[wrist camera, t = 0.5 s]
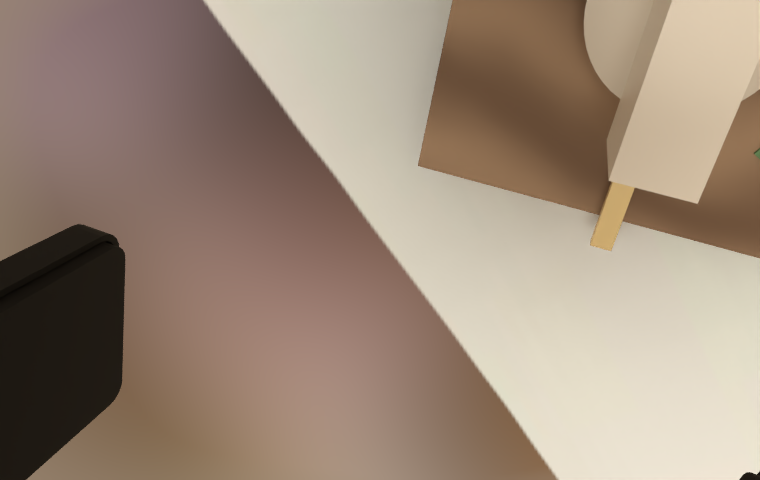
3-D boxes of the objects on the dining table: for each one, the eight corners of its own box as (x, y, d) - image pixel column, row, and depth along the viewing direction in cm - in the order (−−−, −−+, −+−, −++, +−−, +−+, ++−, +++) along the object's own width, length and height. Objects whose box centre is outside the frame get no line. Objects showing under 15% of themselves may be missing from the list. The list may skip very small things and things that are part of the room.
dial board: (520, -291, 27) (516, -306, 25) (1072, -227, 23) (1106, -240, 21) (424, 158, 36) (417, 166, 34) (811, 261, 32) (822, 276, 30)
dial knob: (631, -152, 26) (645, -202, 18) (845, -118, 24) (963, -159, 16) (522, 215, 33) (499, 292, 25) (682, 259, 32) (710, 357, 24)
